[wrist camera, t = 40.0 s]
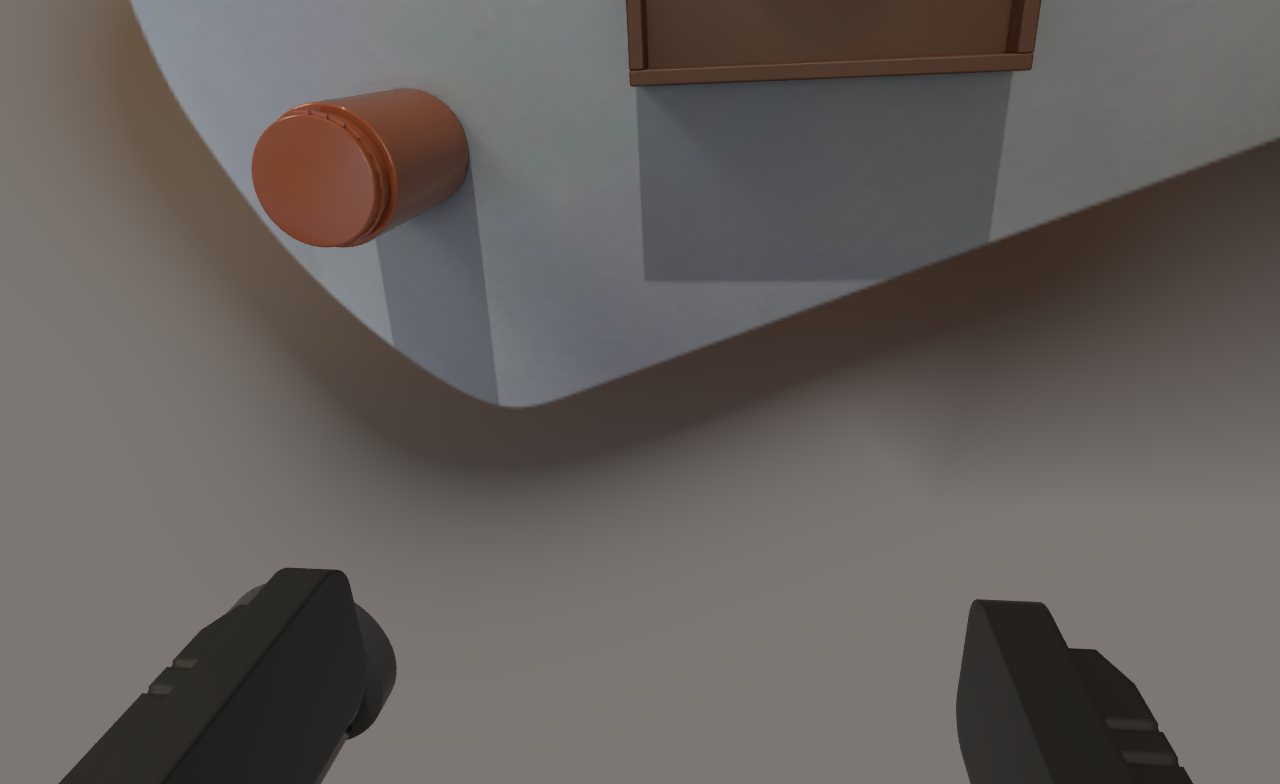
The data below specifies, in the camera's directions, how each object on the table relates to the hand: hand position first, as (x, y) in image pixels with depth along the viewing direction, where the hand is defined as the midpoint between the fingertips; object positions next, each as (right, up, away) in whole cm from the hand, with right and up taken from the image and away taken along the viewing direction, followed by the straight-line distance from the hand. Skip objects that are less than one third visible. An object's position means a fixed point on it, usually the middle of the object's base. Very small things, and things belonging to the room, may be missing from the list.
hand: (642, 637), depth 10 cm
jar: (-10, +14, +26) cm, 31 cm away
